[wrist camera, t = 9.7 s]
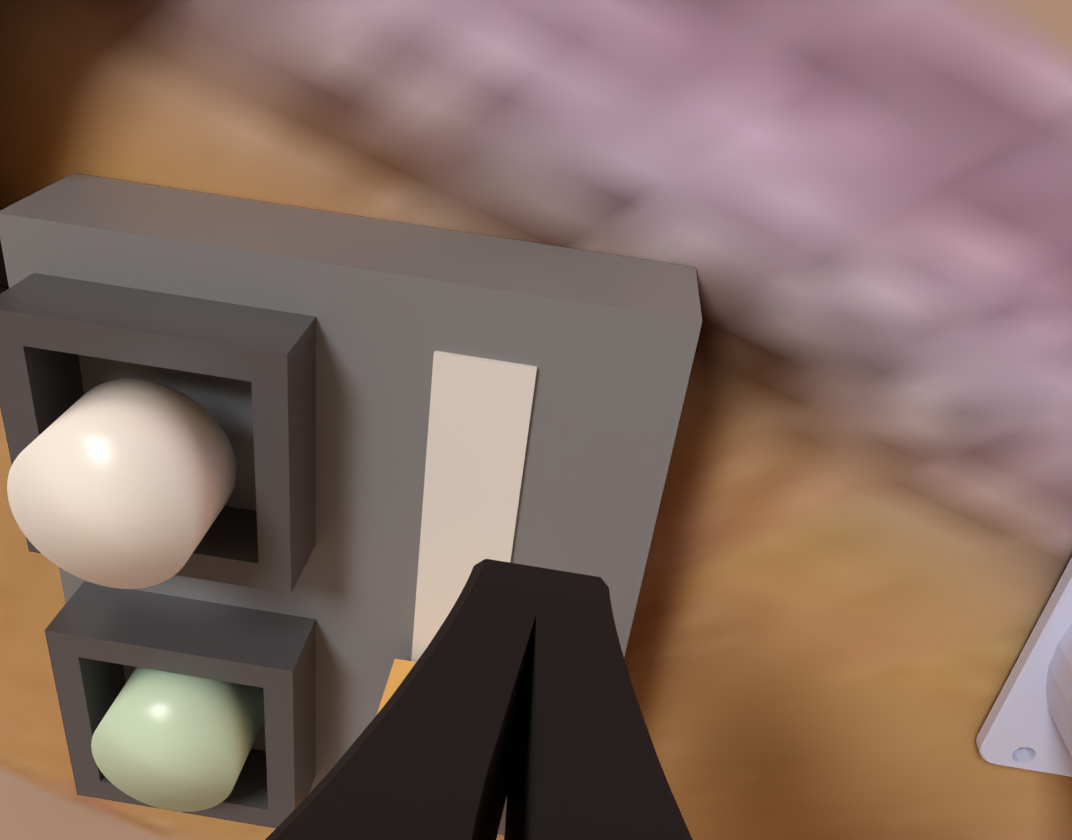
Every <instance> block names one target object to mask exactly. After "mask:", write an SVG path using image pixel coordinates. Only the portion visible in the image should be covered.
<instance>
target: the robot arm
mask: <svg viewBox="0 0 1072 840" xmlns="http://www.w3.org/2000/svg"><path fill="white" fill-rule="evenodd" d="M976 744H977V747H978V749H979V752H980V755H981V757H982V758H983V759H984V760H985V761H987V762H990V763H993V764H997V765H1003V766H1009V767H1015V768H1021V769H1028V770H1034V771H1040V772H1046V773H1052V774H1058V775H1064V776H1070V777H1072V557H1071V559H1070V561H1069V563H1068V565H1067V567H1066V569H1065V571H1064V573H1063V575H1062V576H1061V578H1060V580H1059V582H1058V584H1057V586H1056V588H1055V590H1054V592H1053V593H1052V595H1051V597H1050V599H1049V601H1048V603H1047V605H1046V607H1045V609H1044V610H1043V612H1042V614H1041V616H1040V618H1039V620H1038V622H1037V624H1036V626H1035V628H1034V629H1033V631H1032V633H1031V635H1030V637H1029V639H1028V641H1027V643H1026V645H1025V646H1024V648H1023V650H1022V652H1021V654H1020V656H1019V658H1018V660H1017V662H1016V664H1015V665H1014V667H1013V669H1012V671H1011V673H1010V675H1009V677H1008V679H1007V681H1006V682H1005V684H1004V686H1003V688H1002V690H1001V692H1000V694H999V696H998V698H997V700H996V701H995V703H994V705H993V707H992V709H991V711H990V713H989V715H988V717H987V718H986V720H985V722H984V724H983V726H982V728H981V730H980V732H979V734H978V735H977V739H976ZM1022 747H1024V748H1022ZM1019 748H1022V749H1019ZM506 798H507V802H506ZM505 802H506V818H505V835H504V840H692V838H691V835H690V833H689V831H688V828H687V826H686V824H685V822H684V819H683V817H682V815H681V812H680V810H679V808H678V806H677V803H676V801H675V799H674V796H673V794H672V792H671V789H670V787H669V784H668V782H667V780H666V777H665V775H664V772H663V770H662V767H661V765H660V762H659V760H658V757H657V754H656V752H655V749H654V746H653V743H652V741H651V738H650V735H649V732H648V730H647V727H646V724H645V721H644V719H643V716H642V713H641V710H640V708H639V705H638V702H637V699H636V696H635V693H634V690H633V687H632V684H631V680H630V677H629V674H628V670H627V667H626V663H625V660H624V657H623V653H622V650H621V646H620V642H619V638H618V634H617V630H616V626H615V621H614V617H613V611H612V606H611V600H610V592H609V587H608V586H607V585H606V583H605V582H604V581H603V580H602V578H601V577H597V576H590V575H584V574H578V573H572V572H565V571H559V570H553V569H547V568H541V567H534V566H528V565H522V564H516V563H510V562H503V561H497V560H491V559H484V560H483V561H481V562H479V563H477V564H476V565H474V567H473V569H472V571H471V574H470V576H469V578H468V580H467V582H466V584H465V586H464V588H463V590H462V592H461V594H460V596H459V597H458V599H457V601H456V603H455V604H454V606H453V608H452V609H451V611H450V613H449V614H448V616H447V618H446V619H445V621H444V622H443V624H442V625H441V627H440V628H439V630H438V632H437V633H436V635H435V636H434V638H433V639H432V641H431V642H430V644H429V645H428V647H427V648H426V650H425V651H424V652H423V654H422V655H421V656H420V658H419V659H418V661H417V662H416V663H415V665H414V666H413V667H412V669H411V670H410V672H409V673H408V674H407V676H406V677H405V678H404V680H403V681H402V683H401V684H400V685H399V687H398V688H397V689H396V691H395V692H394V694H393V695H392V696H391V698H390V699H389V700H388V701H387V703H386V704H385V705H384V707H383V708H382V709H381V710H380V712H379V713H378V714H377V715H376V716H375V718H374V719H373V720H372V721H371V722H370V724H369V725H368V726H367V727H366V728H365V730H364V731H363V732H362V733H361V734H360V736H359V737H358V738H357V739H356V740H355V742H354V743H353V744H352V745H351V746H350V748H349V749H348V750H347V751H346V752H345V754H344V755H343V756H342V757H341V758H340V760H339V761H338V762H337V763H336V764H335V766H334V767H333V768H332V769H331V770H330V771H329V772H328V774H327V775H326V776H325V777H324V778H323V779H322V780H321V781H320V782H319V784H318V785H317V786H316V787H315V788H314V789H313V790H312V791H311V792H310V794H309V795H308V796H307V797H306V798H305V799H304V800H303V801H302V802H301V803H300V804H299V805H298V806H297V808H296V809H295V810H294V811H293V812H292V813H291V814H290V815H289V816H288V817H287V818H286V819H285V820H284V821H283V822H282V823H281V824H280V825H279V826H278V827H277V828H276V829H275V830H274V831H273V832H272V833H271V834H270V835H269V836H268V837H267V838H266V840H496V838H497V834H498V830H499V826H500V822H501V818H502V814H503V810H504V806H505Z"/></svg>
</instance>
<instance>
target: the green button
mask: <svg viewBox="0 0 1072 840" xmlns="http://www.w3.org/2000/svg"><path fill="white" fill-rule="evenodd" d="M264 719H265V716H264V696H263V694H262V692H261V690H260V688H259V687H255V686H249V685H243V684H237V683H231V682H225V681H219V680H213V679H207V678H201V677H195V676H189V675H183V674H177V673H171V672H165V671H158V670H152V669H146V668H140V667H136V668H135V670H134V671H133V673H132V675H131V676H130V678H129V679H128V681H127V682H126V684H125V685H124V687H123V688H122V690H121V691H120V693H119V695H118V696H117V698H116V699H115V701H114V702H113V704H112V705H111V707H110V708H109V710H108V712H107V713H106V715H105V716H104V718H103V719H102V721H101V722H100V724H99V725H98V727H97V729H96V730H95V732H94V734H93V737H92V742H91V749H92V754H93V758H94V760H95V762H96V764H97V766H98V768H99V769H100V771H101V772H102V773H103V775H104V776H105V777H106V778H107V779H108V780H109V781H110V782H111V783H112V784H113V785H114V786H116V787H117V788H118V789H119V790H121V791H122V792H124V793H125V794H127V795H129V796H130V797H132V798H134V799H136V800H138V801H140V802H142V803H145V804H148V805H150V806H153V807H157V808H160V809H165V810H170V811H178V812H194V811H201V810H205V809H209V808H212V807H214V806H216V805H218V804H220V803H221V802H223V801H224V800H225V799H226V798H227V797H228V796H229V795H230V793H231V791H232V789H233V787H234V785H235V783H236V781H237V778H238V776H239V774H240V772H241V770H242V768H243V765H244V763H245V761H246V759H247V757H248V754H249V752H250V750H251V748H252V746H253V743H254V741H255V739H256V737H257V735H258V732H259V730H260V728H261V726H262V724H263V721H264Z"/></svg>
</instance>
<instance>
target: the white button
mask: <svg viewBox="0 0 1072 840" xmlns="http://www.w3.org/2000/svg"><path fill="white" fill-rule="evenodd" d="M236 478H237V466H236V459H235V455H234V451H233V448H232V446H231V443H230V441H229V439H228V437H227V435H226V434H225V432H224V430H223V429H222V427H221V426H220V425H219V423H218V422H217V421H216V420H215V419H214V417H213V416H212V415H211V414H210V413H209V412H208V411H207V410H206V409H204V408H203V407H202V406H201V405H200V404H199V403H197V402H196V401H194V400H193V399H192V398H190V397H189V396H187V395H185V394H183V393H182V392H180V391H178V390H176V389H174V388H171V387H169V386H166V385H163V384H160V383H157V382H153V381H149V380H143V379H118V380H111V381H108V382H105V383H102V384H100V385H98V386H95V387H93V388H92V389H91V390H89V391H88V392H86V393H85V394H84V395H83V396H82V397H81V398H80V399H79V400H77V401H76V402H75V403H74V404H73V405H72V406H71V407H70V408H69V409H68V410H66V411H65V412H64V413H63V414H62V415H61V416H60V417H59V418H58V419H57V420H56V421H54V422H53V423H52V424H51V425H50V426H49V427H48V428H47V429H46V430H45V431H43V432H42V433H41V434H40V435H39V436H38V437H37V438H36V439H35V440H34V441H33V442H31V443H30V444H29V445H28V446H27V447H26V448H25V449H24V450H23V451H22V452H21V453H20V454H19V455H18V456H17V458H16V459H15V461H14V462H13V464H12V467H11V469H10V471H9V476H8V481H7V493H8V500H9V504H10V508H11V511H12V513H13V516H14V518H15V520H16V522H17V524H18V525H19V527H20V529H21V531H22V532H23V533H24V535H25V536H26V537H27V539H28V540H29V541H30V542H31V543H32V544H33V546H34V547H35V548H36V549H37V550H38V551H39V552H41V553H42V554H43V555H44V556H45V557H46V558H47V559H49V560H50V561H51V562H53V563H54V564H55V565H57V566H58V567H60V568H62V569H63V570H65V571H66V572H68V573H70V574H72V575H74V576H76V577H78V578H81V579H83V580H86V581H88V582H91V583H94V584H98V585H101V586H106V587H111V588H119V589H139V588H146V587H150V586H155V585H157V584H160V583H162V582H165V581H166V580H168V579H170V578H172V577H173V576H174V575H175V574H177V573H178V572H179V571H180V570H181V569H182V567H183V566H184V565H185V564H186V562H187V561H188V559H189V558H190V556H191V555H192V553H193V552H194V550H195V549H196V547H197V546H198V544H199V543H200V541H201V540H202V538H203V537H204V535H205V534H206V533H207V531H208V530H209V528H210V527H211V525H212V524H213V522H214V521H215V519H216V518H217V516H218V515H219V513H220V512H221V510H222V509H223V507H224V506H225V504H226V503H227V501H228V500H229V498H230V496H231V495H232V492H233V490H234V487H235V483H236Z"/></svg>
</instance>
